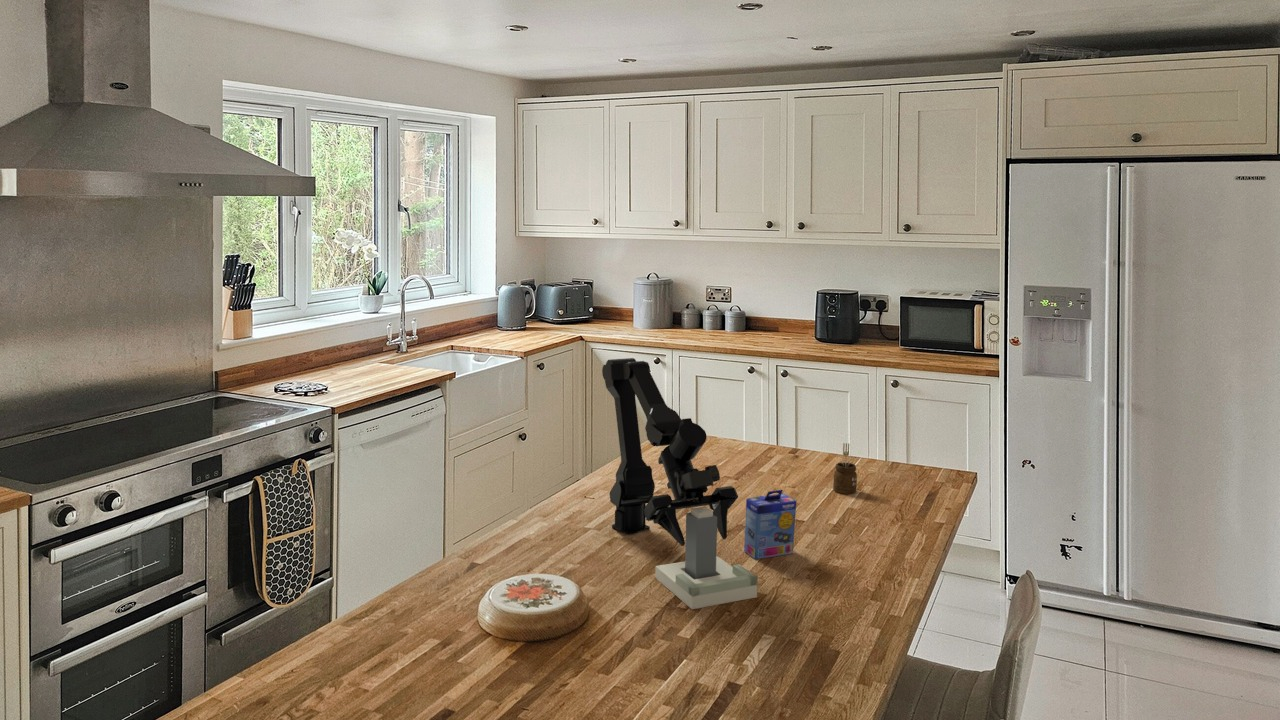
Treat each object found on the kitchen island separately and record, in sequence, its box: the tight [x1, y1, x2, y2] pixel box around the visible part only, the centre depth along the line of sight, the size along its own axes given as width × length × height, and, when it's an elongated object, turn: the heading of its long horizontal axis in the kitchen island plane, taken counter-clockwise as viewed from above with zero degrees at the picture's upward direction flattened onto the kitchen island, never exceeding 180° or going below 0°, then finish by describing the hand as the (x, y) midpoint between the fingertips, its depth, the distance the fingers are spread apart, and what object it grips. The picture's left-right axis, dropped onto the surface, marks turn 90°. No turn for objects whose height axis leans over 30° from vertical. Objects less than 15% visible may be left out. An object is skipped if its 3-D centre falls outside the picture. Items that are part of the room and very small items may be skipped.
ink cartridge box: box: [743, 489, 797, 560], centre depth 208 cm, size 10×6×14 cm, turn 114°
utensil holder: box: [833, 442, 858, 495], centre depth 252 cm, size 6×6×12 cm
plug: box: [684, 506, 718, 579], centre depth 191 cm, size 4×4×15 cm
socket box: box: [655, 555, 759, 610], centre depth 190 cm, size 16×14×4 cm
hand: (704, 541), depth 190 cm, fingers open, 9 cm apart
